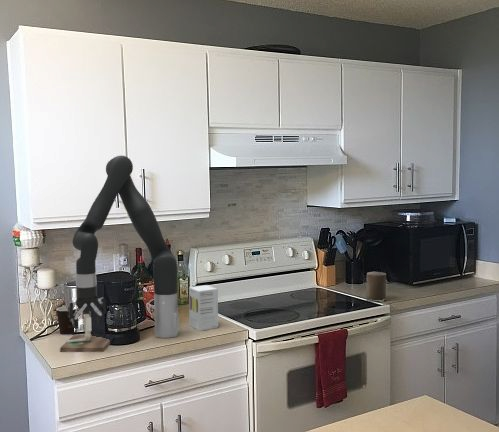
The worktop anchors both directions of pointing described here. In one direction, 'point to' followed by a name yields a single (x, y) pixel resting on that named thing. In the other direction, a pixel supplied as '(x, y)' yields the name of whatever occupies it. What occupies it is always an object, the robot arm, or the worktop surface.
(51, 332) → the worktop surface
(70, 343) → the dial plate
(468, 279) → the worktop surface
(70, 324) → the coffee mug
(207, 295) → the supplement box
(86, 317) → the tuning peg
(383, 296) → the pillar candle
